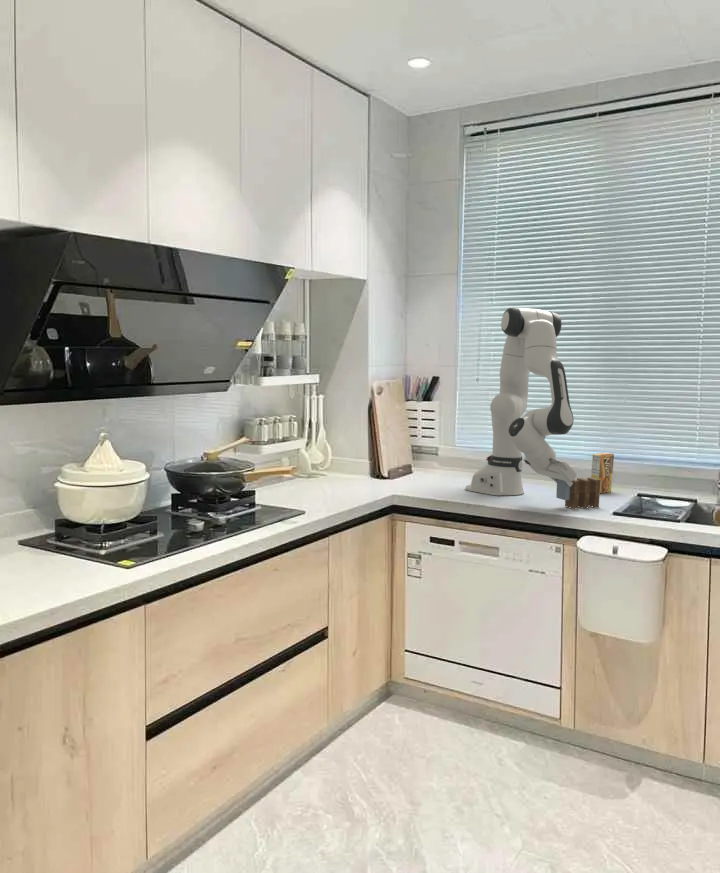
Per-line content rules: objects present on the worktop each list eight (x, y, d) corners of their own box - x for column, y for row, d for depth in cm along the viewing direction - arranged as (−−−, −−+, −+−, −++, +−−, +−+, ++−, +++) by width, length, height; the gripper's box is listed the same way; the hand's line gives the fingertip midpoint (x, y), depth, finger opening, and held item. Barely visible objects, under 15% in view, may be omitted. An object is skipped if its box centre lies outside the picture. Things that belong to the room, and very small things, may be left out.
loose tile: (565, 500, 275) (566, 471, 274) (556, 497, 279) (557, 469, 278) (569, 499, 275) (570, 471, 274) (560, 497, 280) (561, 469, 279)
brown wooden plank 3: (584, 508, 279) (585, 480, 277) (575, 505, 283) (576, 478, 282) (588, 508, 279) (590, 480, 278) (579, 505, 284) (581, 477, 283)
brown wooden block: (594, 507, 280) (596, 480, 279) (585, 504, 285) (587, 477, 284) (598, 507, 281) (600, 479, 280) (589, 504, 285) (591, 477, 284)
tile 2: (573, 509, 277) (575, 481, 276) (564, 506, 281) (566, 478, 280) (577, 508, 278) (579, 480, 276) (569, 506, 282) (570, 478, 281)
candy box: (602, 490, 315) (605, 452, 313) (612, 492, 312) (614, 453, 310) (589, 492, 309) (591, 453, 307) (598, 494, 306) (601, 455, 304)
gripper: (566, 454, 263) (589, 481, 268) (531, 446, 282) (553, 472, 287) (554, 468, 262) (577, 495, 267) (520, 459, 281) (542, 485, 286)
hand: (564, 483), depth 277 cm, fingers closed on loose tile, 5 cm apart
